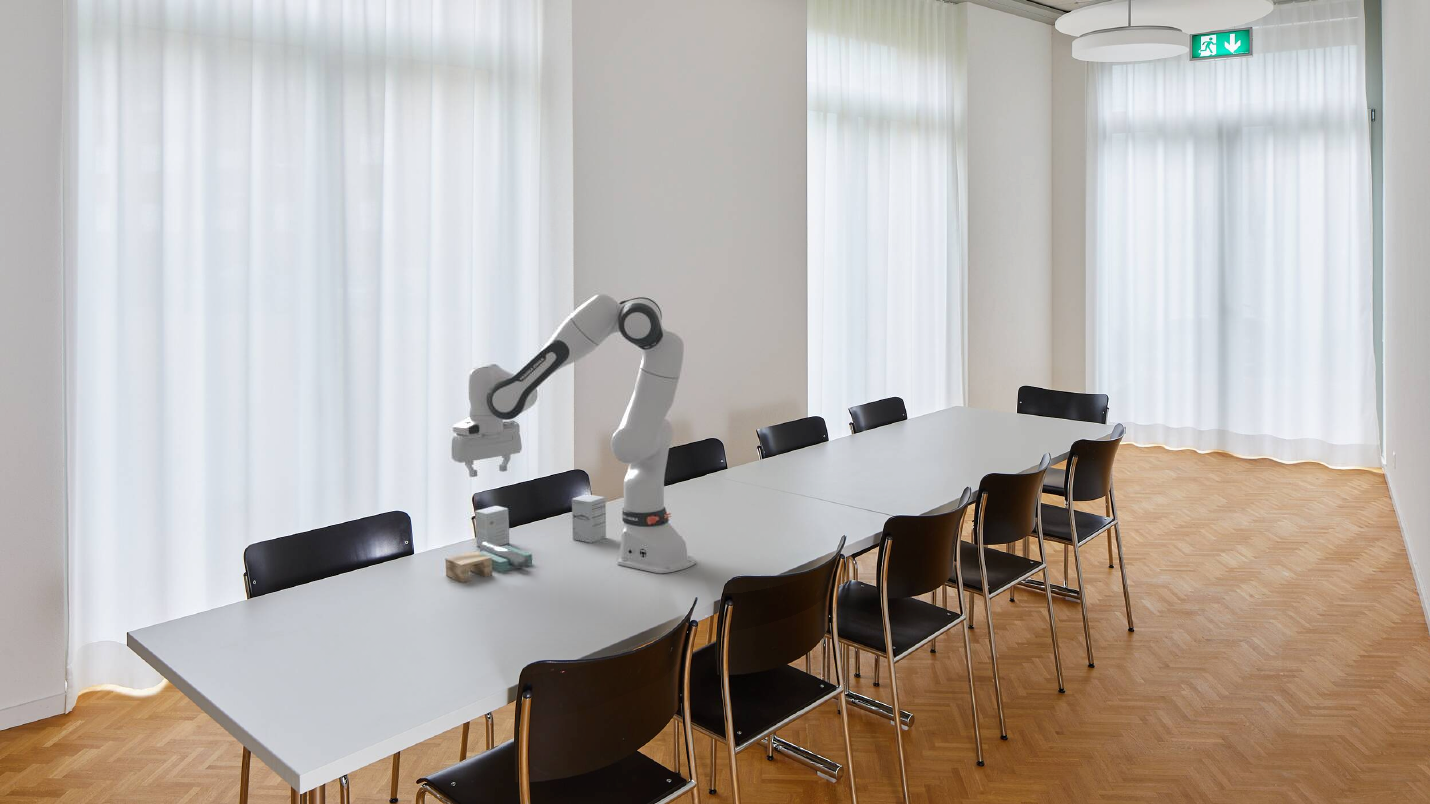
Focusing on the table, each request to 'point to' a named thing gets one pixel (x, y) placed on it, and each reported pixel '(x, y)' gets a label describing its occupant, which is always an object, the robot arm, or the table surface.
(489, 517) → the small box
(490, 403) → the robot arm
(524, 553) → the cradle
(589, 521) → the supplement box
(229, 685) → the table surface
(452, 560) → the wooden bridge block
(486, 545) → the axle
